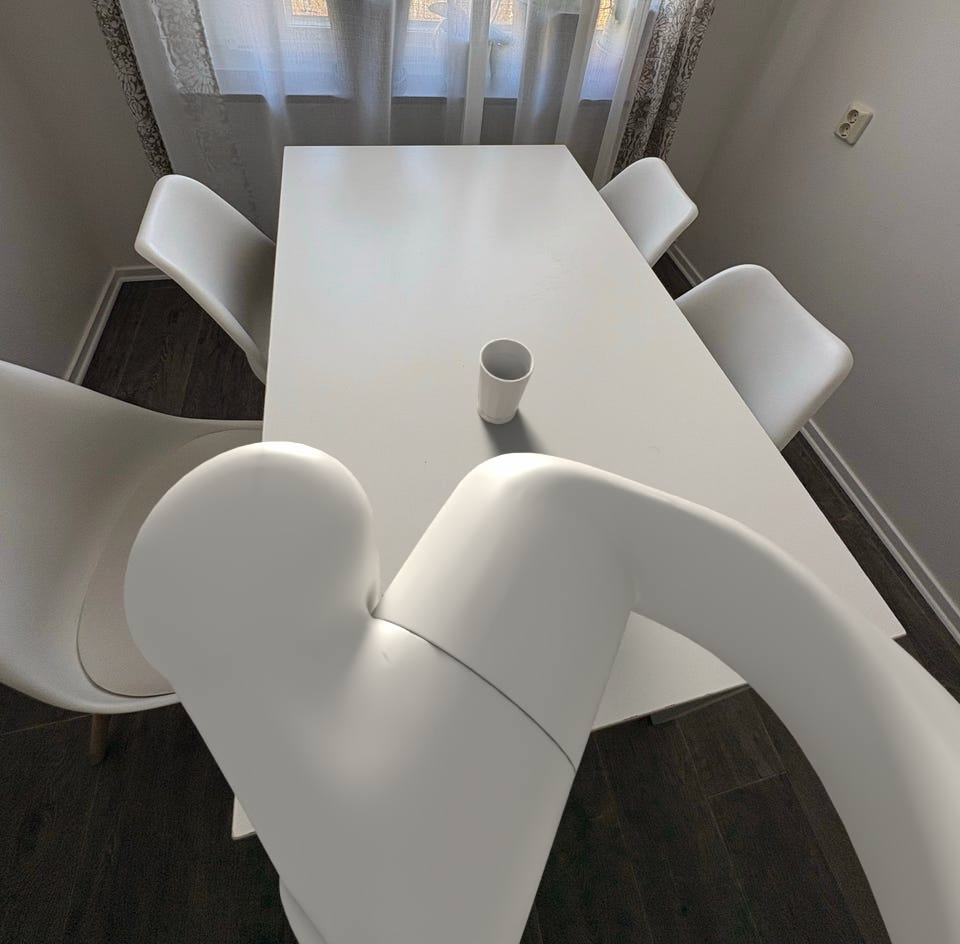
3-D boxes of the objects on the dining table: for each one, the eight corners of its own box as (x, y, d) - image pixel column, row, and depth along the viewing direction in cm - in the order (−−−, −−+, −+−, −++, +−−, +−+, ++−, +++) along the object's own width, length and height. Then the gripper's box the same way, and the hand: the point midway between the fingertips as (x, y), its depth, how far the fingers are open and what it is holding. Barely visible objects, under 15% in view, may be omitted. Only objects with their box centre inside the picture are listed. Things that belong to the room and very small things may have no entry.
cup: (468, 388, 86) (475, 340, 78) (515, 384, 87) (527, 336, 79) (476, 431, 80) (484, 384, 72) (526, 426, 82) (540, 379, 74)
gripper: (110, 593, 25) (205, 671, 37) (395, 889, 19) (398, 867, 31) (242, 473, 30) (288, 577, 42) (502, 683, 24) (469, 733, 36)
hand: (335, 701), depth 37 cm, fingers open, 9 cm apart
